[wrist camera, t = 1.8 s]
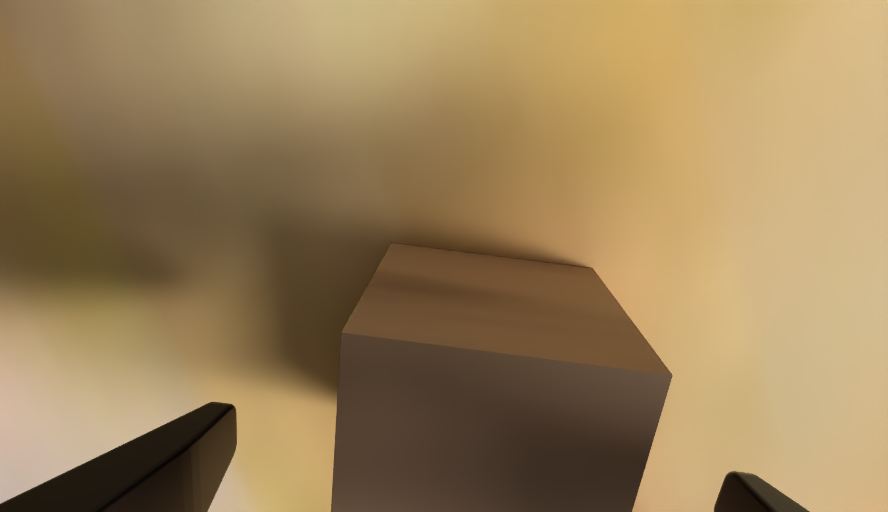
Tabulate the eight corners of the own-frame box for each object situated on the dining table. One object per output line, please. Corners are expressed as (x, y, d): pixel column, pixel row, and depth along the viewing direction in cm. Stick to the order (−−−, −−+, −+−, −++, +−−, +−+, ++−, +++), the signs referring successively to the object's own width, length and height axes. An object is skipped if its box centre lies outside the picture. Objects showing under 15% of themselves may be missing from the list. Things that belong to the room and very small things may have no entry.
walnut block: (554, 435, 13) (600, 615, 9) (377, 411, 14) (327, 578, 9) (591, 267, 12) (672, 375, 7) (392, 241, 12) (341, 332, 7)
